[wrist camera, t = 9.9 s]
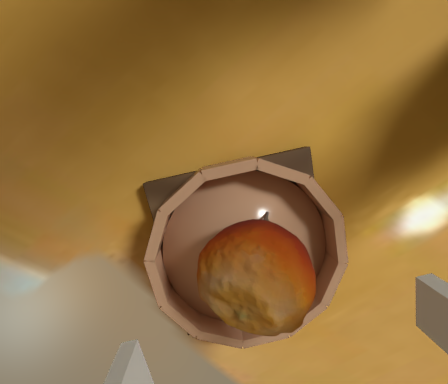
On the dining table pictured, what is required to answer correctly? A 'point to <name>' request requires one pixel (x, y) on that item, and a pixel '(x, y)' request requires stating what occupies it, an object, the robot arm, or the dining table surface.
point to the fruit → (257, 277)
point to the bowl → (228, 215)
